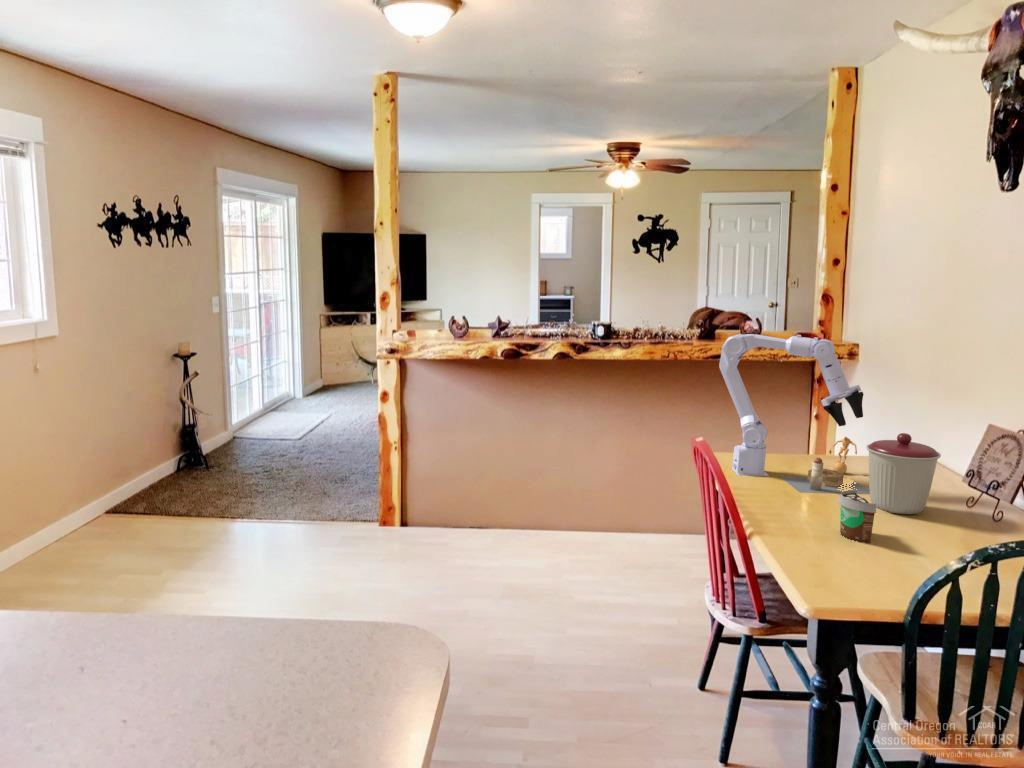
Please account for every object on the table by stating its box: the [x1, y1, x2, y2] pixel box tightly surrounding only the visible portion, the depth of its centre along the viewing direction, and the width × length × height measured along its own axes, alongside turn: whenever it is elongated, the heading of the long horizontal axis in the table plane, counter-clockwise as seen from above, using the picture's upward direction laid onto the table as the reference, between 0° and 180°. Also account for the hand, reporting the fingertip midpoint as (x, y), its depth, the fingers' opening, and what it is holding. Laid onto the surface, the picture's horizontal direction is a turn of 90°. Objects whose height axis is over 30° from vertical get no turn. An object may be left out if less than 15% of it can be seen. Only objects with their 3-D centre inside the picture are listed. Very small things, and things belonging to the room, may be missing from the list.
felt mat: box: [779, 476, 870, 495], centre depth 236 cm, size 22×17×1 cm
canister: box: [865, 432, 942, 515], centre depth 214 cm, size 18×18×21 cm
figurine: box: [830, 436, 858, 475], centre depth 250 cm, size 8×6×12 cm
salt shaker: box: [810, 457, 825, 491], centre depth 230 cm, size 3×3×10 cm
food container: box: [837, 490, 877, 544], centre depth 191 cm, size 12×6×10 cm, turn 178°
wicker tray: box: [807, 468, 845, 487], centre depth 238 cm, size 9×9×3 cm
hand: (851, 421), depth 233 cm, fingers open, 7 cm apart
